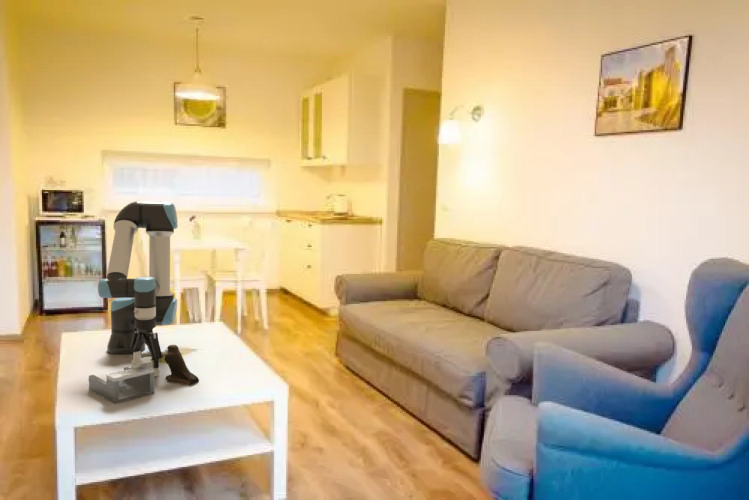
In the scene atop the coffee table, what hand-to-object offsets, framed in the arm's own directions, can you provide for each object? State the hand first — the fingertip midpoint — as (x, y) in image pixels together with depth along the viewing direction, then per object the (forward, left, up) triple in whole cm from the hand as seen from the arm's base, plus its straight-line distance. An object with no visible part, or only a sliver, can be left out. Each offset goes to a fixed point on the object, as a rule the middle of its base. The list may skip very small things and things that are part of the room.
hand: (146, 372), depth 223 cm
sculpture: (+18, +4, -1) cm, 18 cm away
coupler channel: (+14, -16, 0) cm, 21 cm away
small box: (0, 0, -1) cm, 1 cm away
